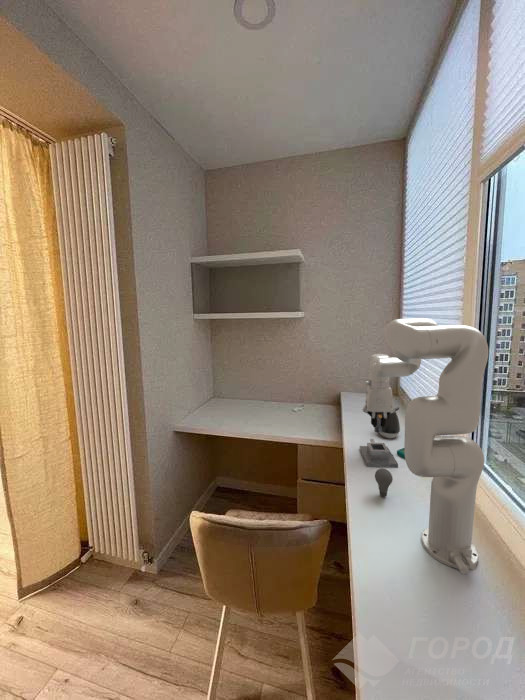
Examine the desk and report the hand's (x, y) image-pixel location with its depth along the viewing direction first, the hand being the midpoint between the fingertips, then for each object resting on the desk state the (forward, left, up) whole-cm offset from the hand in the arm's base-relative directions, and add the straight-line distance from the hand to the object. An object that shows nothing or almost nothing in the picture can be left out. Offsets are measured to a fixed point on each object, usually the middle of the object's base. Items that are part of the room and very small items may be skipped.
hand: (378, 425), depth 118 cm
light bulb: (-25, +5, -15) cm, 30 cm away
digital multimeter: (+4, -17, -15) cm, 23 cm away
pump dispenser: (+21, -11, -15) cm, 28 cm away
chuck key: (0, 0, -2) cm, 2 cm away
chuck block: (+1, 0, -14) cm, 15 cm away
